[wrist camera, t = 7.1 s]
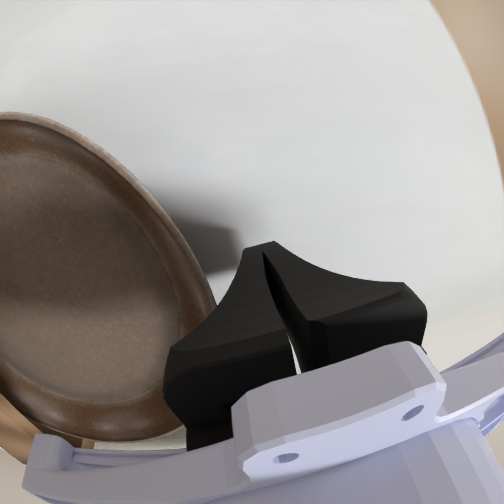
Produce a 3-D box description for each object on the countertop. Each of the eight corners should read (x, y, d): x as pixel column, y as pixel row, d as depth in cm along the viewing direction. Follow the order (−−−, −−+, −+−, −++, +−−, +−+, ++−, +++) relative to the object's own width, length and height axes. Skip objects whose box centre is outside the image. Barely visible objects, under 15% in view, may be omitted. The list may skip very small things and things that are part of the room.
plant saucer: (-87, 214, 9) (-114, 233, 6) (130, 25, 8) (103, 0, 5) (46, 412, 18) (38, 440, 15) (266, 378, 18) (275, 420, 15)
